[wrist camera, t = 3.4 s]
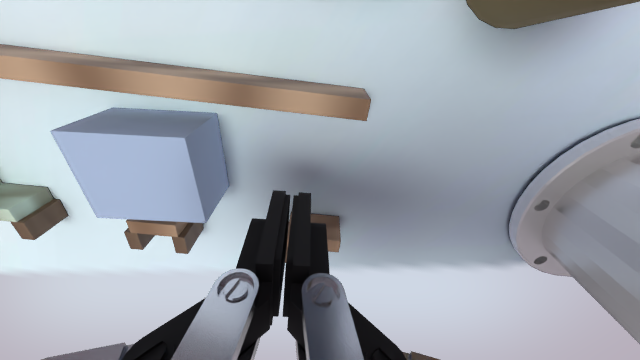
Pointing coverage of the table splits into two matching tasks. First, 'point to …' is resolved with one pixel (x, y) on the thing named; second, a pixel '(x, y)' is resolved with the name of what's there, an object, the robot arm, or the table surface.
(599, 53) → the table surface
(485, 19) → the cork
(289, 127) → the table surface
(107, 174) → the block
